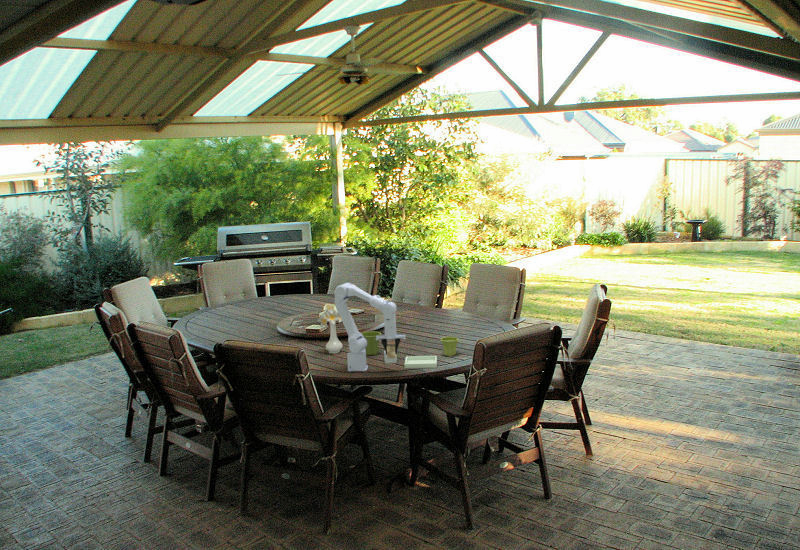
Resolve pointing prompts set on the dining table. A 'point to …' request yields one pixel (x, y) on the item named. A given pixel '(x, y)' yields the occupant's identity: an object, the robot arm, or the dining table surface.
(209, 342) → the dining table surface
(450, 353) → the plant pot
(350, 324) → the robot arm
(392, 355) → the small block
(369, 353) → the plant pot
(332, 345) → the flower vase
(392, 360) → the large block
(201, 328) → the dining table surface
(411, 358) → the tray
